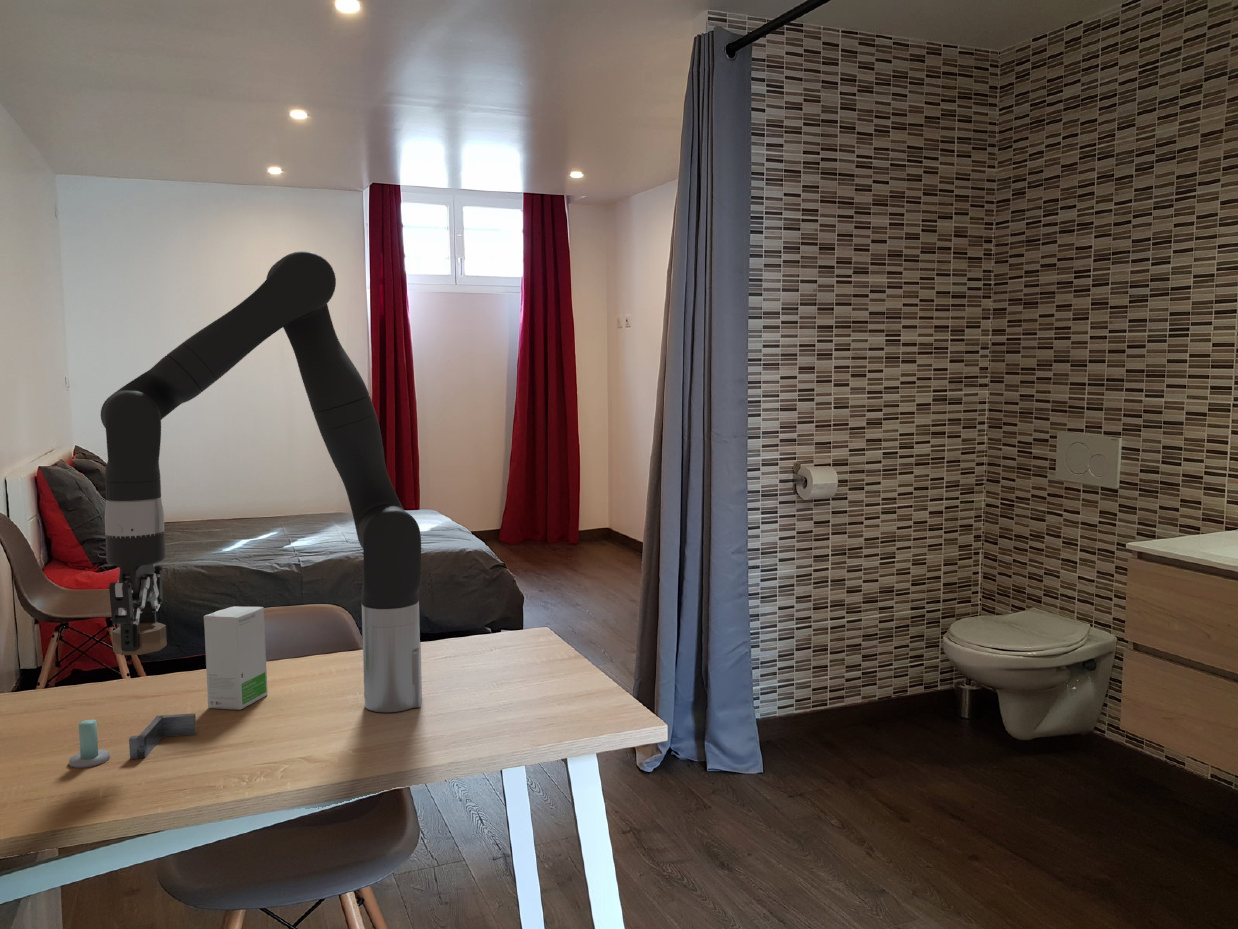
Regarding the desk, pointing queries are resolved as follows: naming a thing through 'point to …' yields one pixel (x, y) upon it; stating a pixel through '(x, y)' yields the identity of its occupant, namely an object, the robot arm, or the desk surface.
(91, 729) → the teal flanged peg
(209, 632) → the skincare box
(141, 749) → the bent rail
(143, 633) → the walnut ring
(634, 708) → the desk surface
